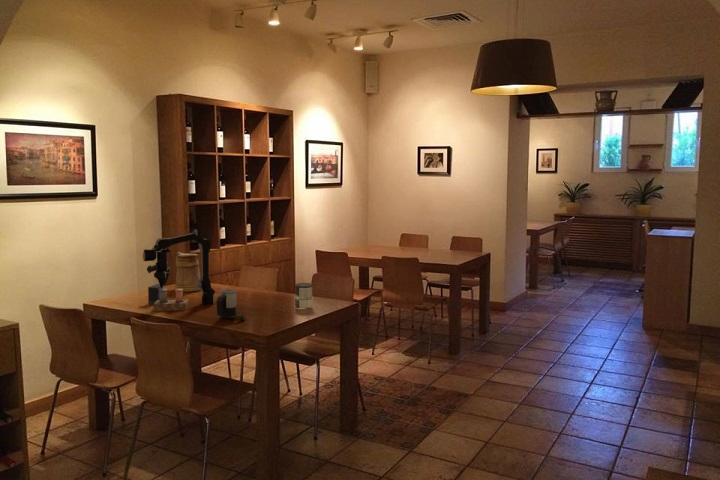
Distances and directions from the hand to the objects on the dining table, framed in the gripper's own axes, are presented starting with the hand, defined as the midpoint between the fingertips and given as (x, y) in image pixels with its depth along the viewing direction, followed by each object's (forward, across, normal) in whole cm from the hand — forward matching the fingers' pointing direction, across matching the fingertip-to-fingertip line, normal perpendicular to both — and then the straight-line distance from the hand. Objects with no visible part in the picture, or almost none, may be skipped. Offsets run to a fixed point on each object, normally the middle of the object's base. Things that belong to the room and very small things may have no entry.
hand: (162, 286), depth 342 cm
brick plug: (+10, 0, +9) cm, 13 cm away
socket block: (+13, 0, +5) cm, 14 cm away
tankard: (+13, -57, +5) cm, 58 cm away
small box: (+13, -17, -7) cm, 22 cm away
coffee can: (+13, +4, +82) cm, 83 cm away
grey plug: (+10, 0, 0) cm, 10 cm away
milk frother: (+13, +28, +42) cm, 52 cm away
